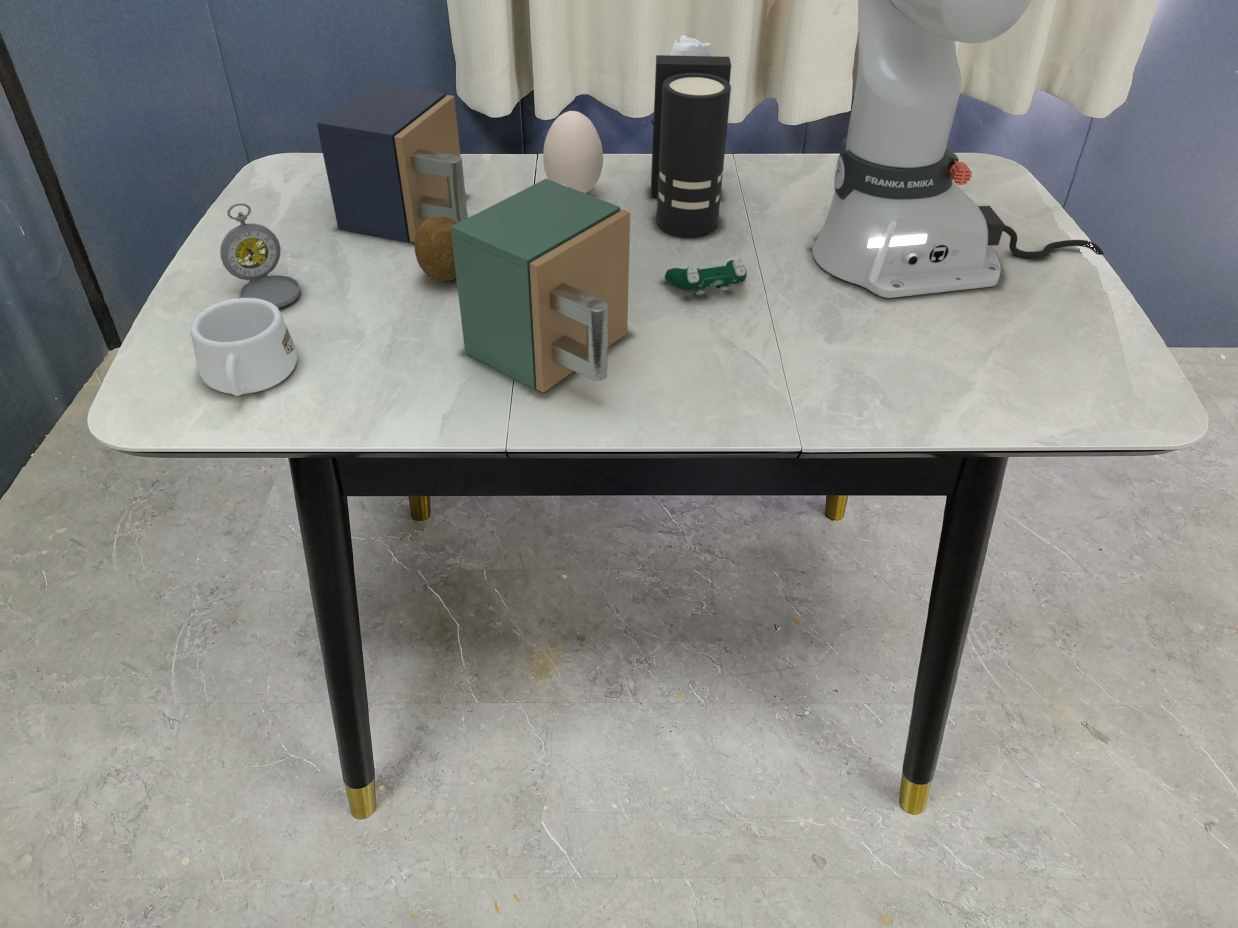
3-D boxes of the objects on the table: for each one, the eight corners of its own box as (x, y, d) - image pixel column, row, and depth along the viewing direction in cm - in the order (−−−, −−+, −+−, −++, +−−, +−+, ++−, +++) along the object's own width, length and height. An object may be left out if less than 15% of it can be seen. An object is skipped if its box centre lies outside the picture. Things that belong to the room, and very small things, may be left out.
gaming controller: (667, 303, 110) (681, 291, 104) (661, 272, 110) (675, 258, 104) (739, 293, 112) (757, 280, 106) (734, 262, 112) (751, 248, 106)
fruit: (469, 293, 108) (462, 230, 102) (415, 293, 107) (405, 230, 102) (474, 266, 112) (468, 204, 107) (423, 265, 112) (414, 204, 107)
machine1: (456, 195, 126) (445, 93, 117) (408, 242, 116) (391, 135, 107) (391, 184, 128) (375, 83, 119) (338, 229, 118) (316, 122, 109)
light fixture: (650, 237, 118) (656, 96, 106) (648, 188, 128) (654, 55, 116) (726, 238, 118) (741, 98, 106) (719, 190, 128) (731, 56, 116)
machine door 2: (671, 354, 99) (679, 231, 89) (588, 417, 91) (587, 289, 81) (620, 330, 102) (622, 209, 92) (536, 389, 94) (529, 263, 84)
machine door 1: (505, 203, 124) (498, 102, 115) (460, 251, 114) (448, 145, 105) (458, 195, 126) (447, 94, 117) (409, 241, 116) (394, 136, 107)
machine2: (618, 331, 102) (620, 207, 92) (534, 389, 94) (526, 260, 84) (550, 299, 107) (546, 178, 97) (464, 353, 99) (450, 226, 89)
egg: (597, 211, 123) (597, 126, 116) (539, 206, 124) (535, 121, 116) (607, 185, 129) (608, 103, 121) (551, 180, 130) (548, 98, 122)
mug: (210, 345, 99) (194, 297, 95) (303, 339, 100) (291, 291, 96) (188, 415, 90) (169, 365, 86) (290, 408, 91) (276, 358, 87)
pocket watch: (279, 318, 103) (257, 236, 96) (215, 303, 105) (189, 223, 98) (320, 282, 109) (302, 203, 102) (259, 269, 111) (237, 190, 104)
